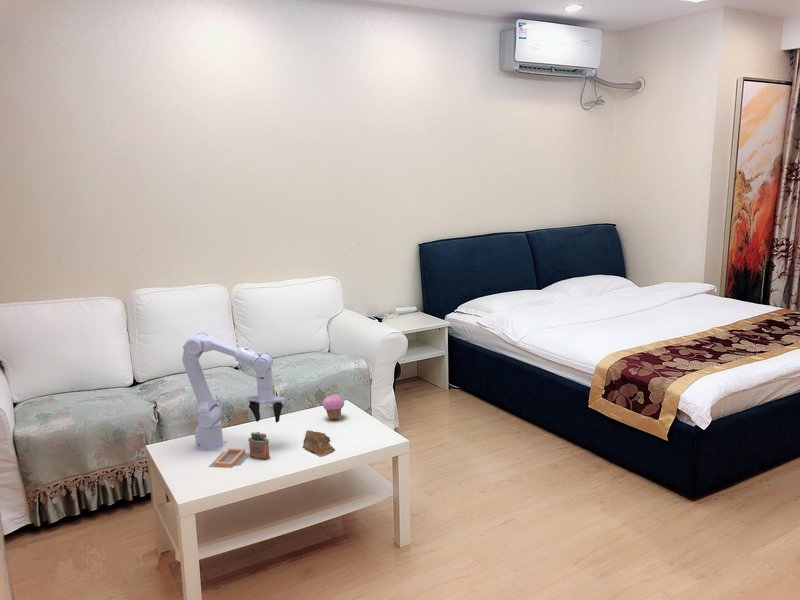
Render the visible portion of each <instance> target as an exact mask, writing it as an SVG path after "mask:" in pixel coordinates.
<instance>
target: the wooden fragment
mask: <svg viewBox="0 0 800 600" xmlns="http://www.w3.org/2000/svg"><path fill="white" fill-rule="evenodd" d="M330 440H331V439H330V436H328V435H326V433H323V432H321V431H313V430H310V429H309V430H306V432H305V437H304V439H303V445H302V448H303V449H304V450H305V451H307V452H309V453H311V454H314V455H316V456H318V457H320V458H322V457H326V456H329V455H330V454H331V453H333V452H334V451H335V450H336V448H334V447H333V446H332V445H331V443H329V441H330Z"/></svg>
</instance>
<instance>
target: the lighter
mask: <svg viewBox="0 0 800 600" xmlns="http://www.w3.org/2000/svg"><path fill="white" fill-rule="evenodd" d="M269 441H270V440H269V439H268V438H267V434H266V433H261V432H259V431H257V432H250V437H248V442H249V443H248V444H249V447H248V448H249V453H250V456H249V458H250V459H253V460H257V461H269V460H270V458H271V456H270V447H269Z"/></svg>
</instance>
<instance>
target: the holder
mask: <svg viewBox="0 0 800 600" xmlns="http://www.w3.org/2000/svg"><path fill="white" fill-rule="evenodd" d="M248 458H250V452H246V449H245V448H227V449H226V450H225V451H222V452H221V453H220V454H219V455H218V456H217V457H216V459H214V460H213V462H211V463H210V464H209V465H208V468H226V469H227V468H231V469H232V468H234V467H238V466H242V464H243V463H245V461H246V460H247V459H248Z"/></svg>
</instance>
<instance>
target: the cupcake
mask: <svg viewBox="0 0 800 600" xmlns="http://www.w3.org/2000/svg"><path fill="white" fill-rule="evenodd" d="M344 406H345V400H344V398H343V397H341V396H340V394H331V395H328V396H327V397H326V398H324V399H323V401H322V407H323V408H324V409H325V411H326V414H327V417H328V419H329V420H339V419H340V417H341V416H342V408H343V407H344Z"/></svg>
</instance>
